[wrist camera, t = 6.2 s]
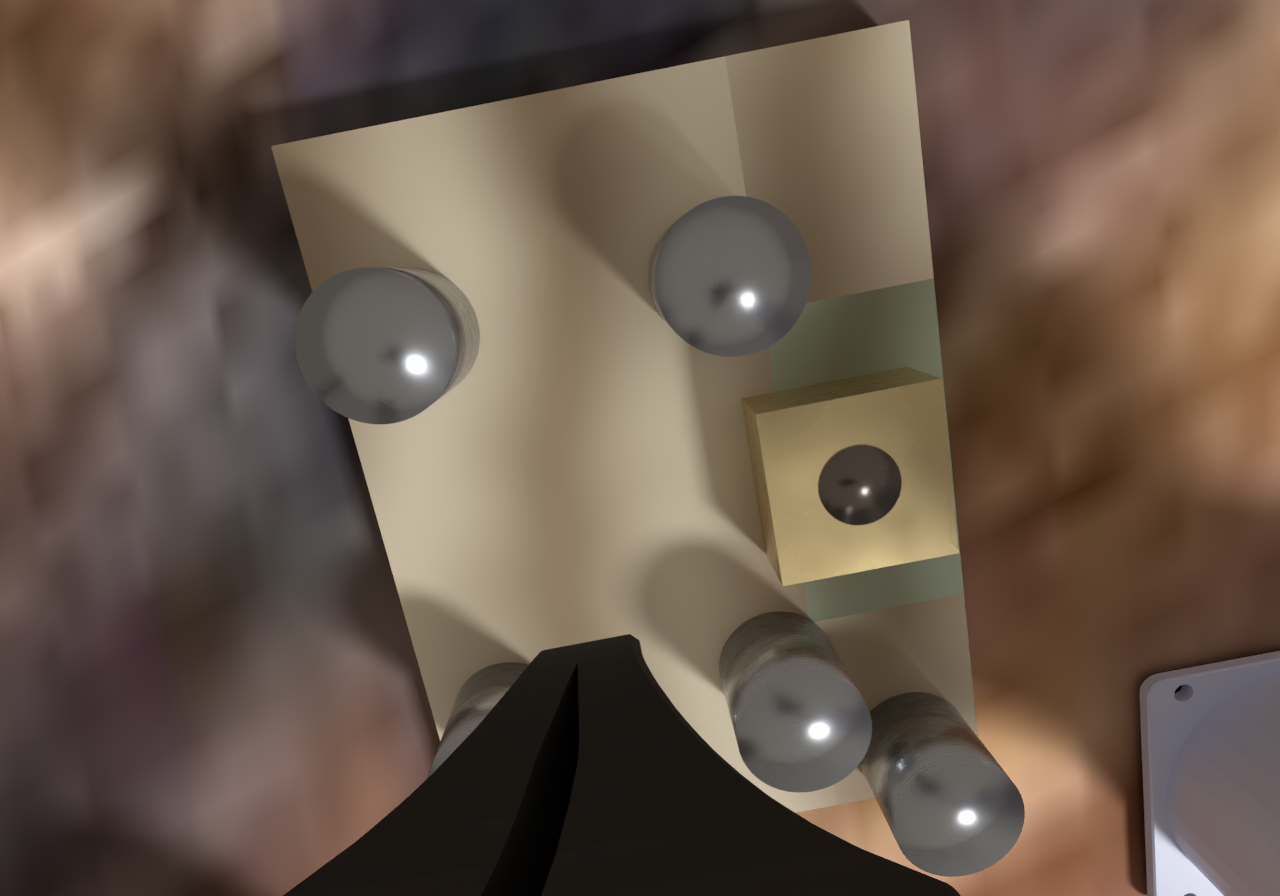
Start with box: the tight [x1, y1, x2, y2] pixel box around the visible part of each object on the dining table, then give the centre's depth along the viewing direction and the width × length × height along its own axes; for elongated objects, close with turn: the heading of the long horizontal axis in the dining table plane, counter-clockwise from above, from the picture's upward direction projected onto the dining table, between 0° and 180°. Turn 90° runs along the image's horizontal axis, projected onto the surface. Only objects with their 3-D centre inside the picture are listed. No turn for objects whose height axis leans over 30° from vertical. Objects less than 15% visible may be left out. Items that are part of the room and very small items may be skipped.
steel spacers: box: [295, 196, 1024, 876], centre depth 18 cm, size 13×16×3 cm
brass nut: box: [741, 367, 959, 586], centre depth 18 cm, size 4×4×2 cm
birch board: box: [271, 20, 978, 813], centre depth 19 cm, size 14×19×1 cm
